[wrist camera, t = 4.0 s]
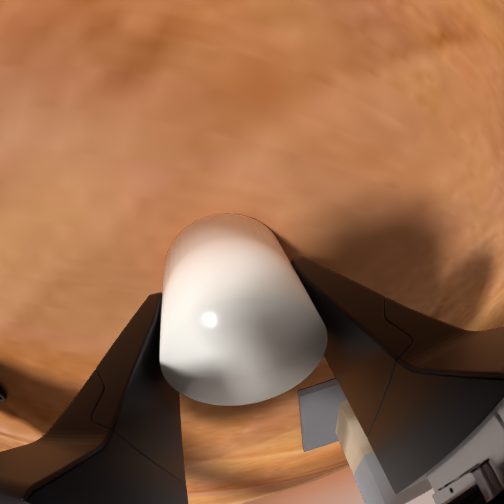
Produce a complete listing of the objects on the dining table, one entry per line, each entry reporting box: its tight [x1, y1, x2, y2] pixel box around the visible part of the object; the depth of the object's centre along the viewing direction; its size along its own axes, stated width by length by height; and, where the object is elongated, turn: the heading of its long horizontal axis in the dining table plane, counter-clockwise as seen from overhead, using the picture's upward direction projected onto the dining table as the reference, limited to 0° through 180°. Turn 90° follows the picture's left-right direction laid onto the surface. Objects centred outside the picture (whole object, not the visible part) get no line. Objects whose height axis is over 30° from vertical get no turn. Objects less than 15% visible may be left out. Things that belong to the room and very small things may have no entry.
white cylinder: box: [160, 213, 328, 406], centre depth 8 cm, size 4×4×4 cm
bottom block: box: [335, 400, 373, 475], centre depth 16 cm, size 5×5×4 cm
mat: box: [298, 379, 347, 452], centre depth 18 cm, size 10×10×1 cm
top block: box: [353, 451, 432, 504], centre depth 13 cm, size 5×5×4 cm
